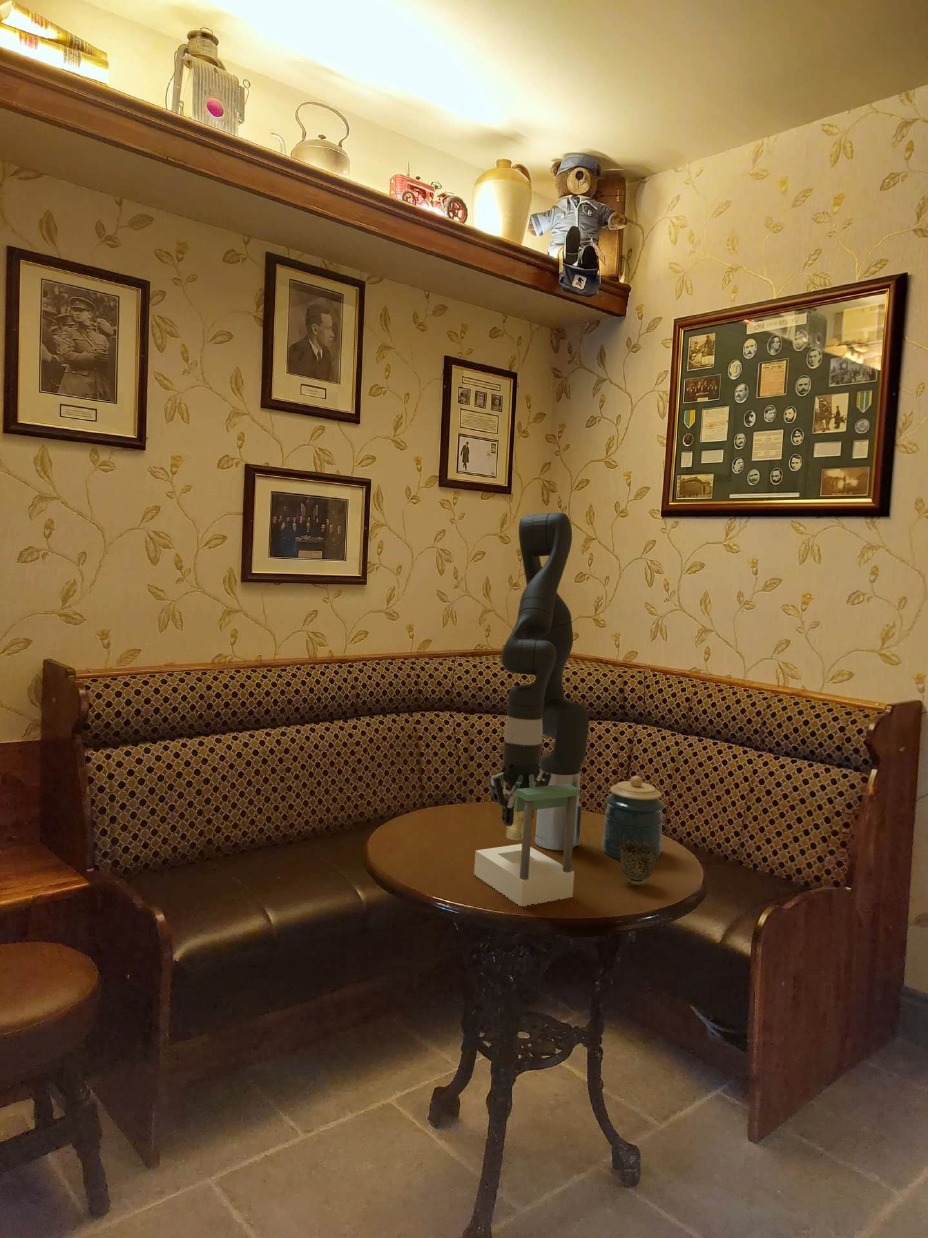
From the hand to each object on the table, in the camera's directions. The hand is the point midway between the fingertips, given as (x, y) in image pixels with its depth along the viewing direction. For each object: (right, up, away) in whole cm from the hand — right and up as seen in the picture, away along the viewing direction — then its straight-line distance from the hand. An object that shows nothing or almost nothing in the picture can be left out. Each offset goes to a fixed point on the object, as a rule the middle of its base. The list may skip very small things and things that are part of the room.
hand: (516, 823), depth 168 cm
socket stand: (+1, -12, -1) cm, 12 cm away
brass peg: (0, -3, 0) cm, 3 cm away
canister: (+27, -12, +21) cm, 36 cm away
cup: (+24, -13, +2) cm, 28 cm away
